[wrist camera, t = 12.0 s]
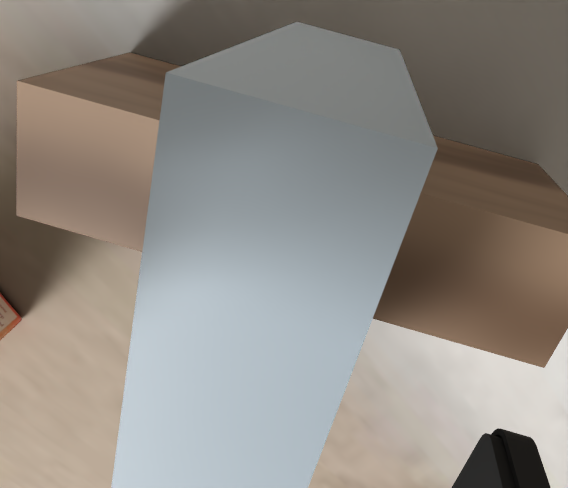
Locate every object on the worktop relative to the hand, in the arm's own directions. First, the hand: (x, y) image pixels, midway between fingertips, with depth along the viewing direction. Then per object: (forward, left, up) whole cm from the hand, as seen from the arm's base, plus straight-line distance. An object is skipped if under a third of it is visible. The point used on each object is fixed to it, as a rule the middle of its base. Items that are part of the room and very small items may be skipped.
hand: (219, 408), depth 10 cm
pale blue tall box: (0, 0, -14) cm, 14 cm away
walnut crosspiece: (0, 0, -18) cm, 18 cm away
